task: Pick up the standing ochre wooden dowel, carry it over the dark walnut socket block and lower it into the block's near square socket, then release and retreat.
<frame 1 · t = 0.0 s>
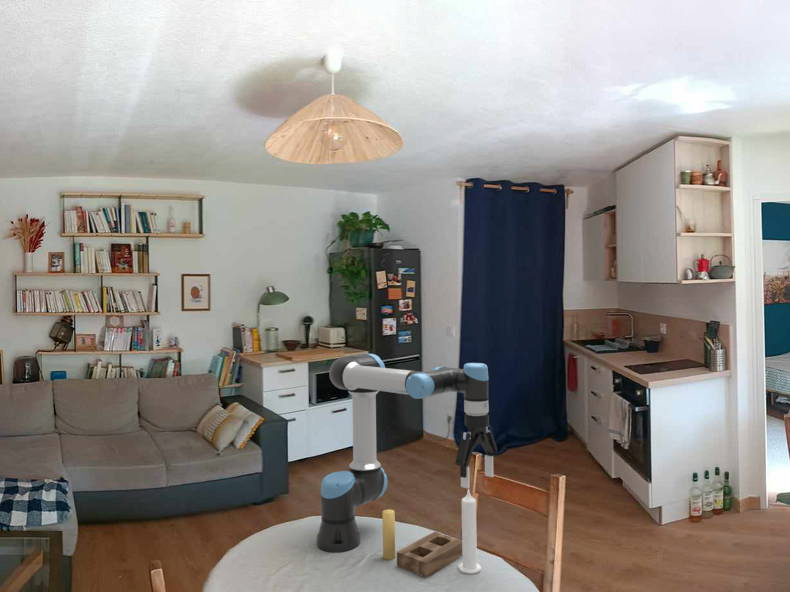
hand: (477, 481, 178), 28 cm above the table, fingers open, 13 cm apart
candle: (469, 569, 180), on the table
peg: (389, 557, 189), on the table
socket block: (431, 560, 186), on the table
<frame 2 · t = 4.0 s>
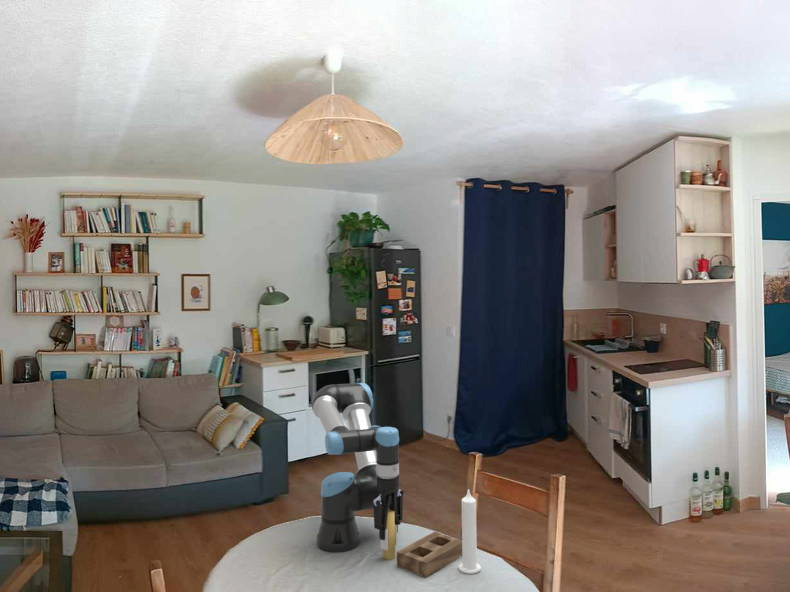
hand: (388, 546, 189), 4 cm above the table, fingers closed on peg, 4 cm apart
peg: (389, 557, 189), on the table, touching gripper
everything else where it was.
when the fingers open (6 cm above the table, at t = 8.5 s): peg drops 1 cm, resting in socket block.
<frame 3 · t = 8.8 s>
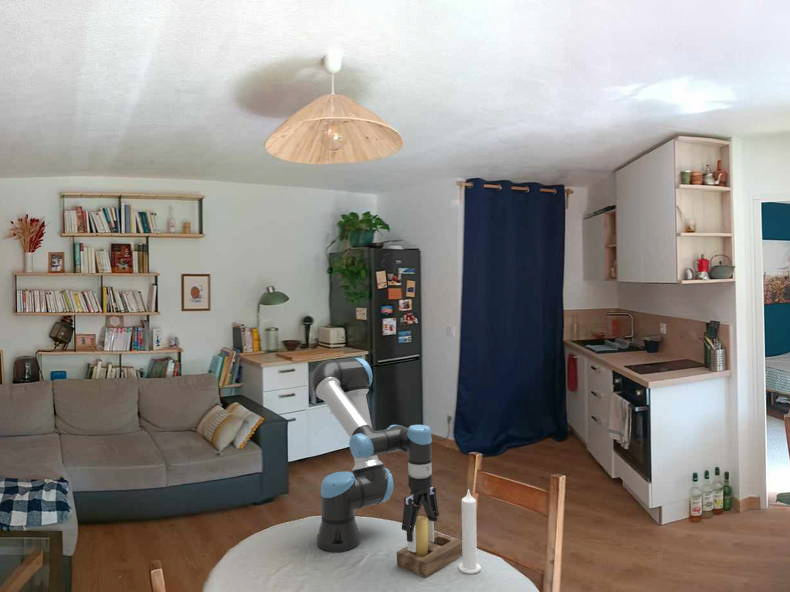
hand: (421, 545, 182), 6 cm above the table, fingers open, 9 cm apart
peg: (421, 565, 182), resting in socket block
everything else where it was.
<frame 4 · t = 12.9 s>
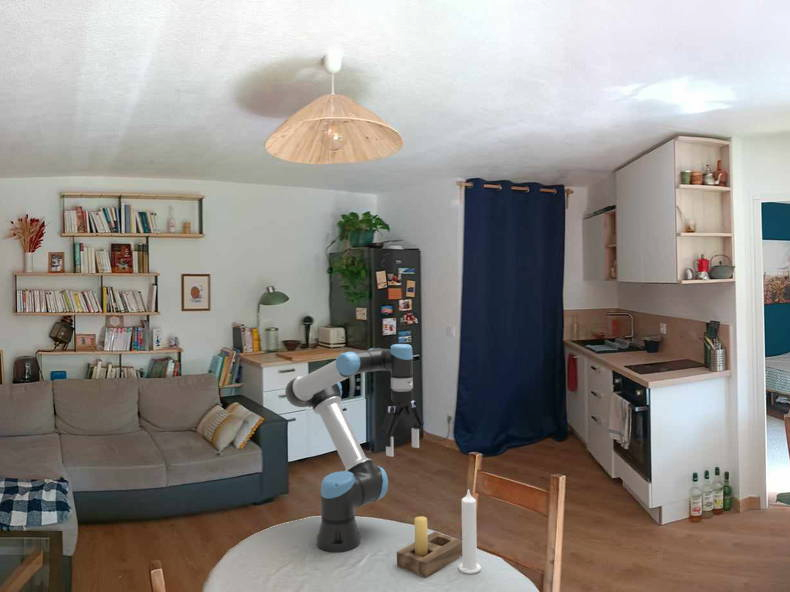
hand: (403, 451, 196), 33 cm above the table, fingers open, 13 cm apart
nothing on the table moved.
at the end: peg 0.1 cm from the target spot on the socket block, point 0.0 cm above the socket block's base; peg tilted 0°; the gripper is holding nothing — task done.
